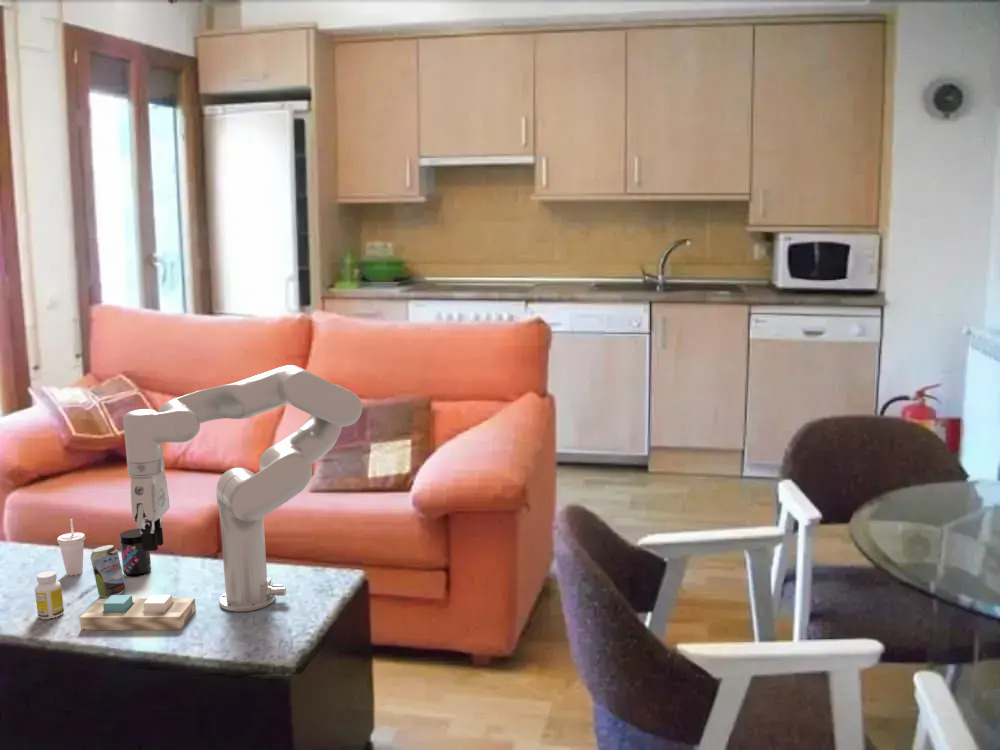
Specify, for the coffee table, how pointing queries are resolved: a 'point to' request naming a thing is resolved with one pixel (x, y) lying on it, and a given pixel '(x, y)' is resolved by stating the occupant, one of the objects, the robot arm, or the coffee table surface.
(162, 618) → the key block
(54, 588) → the supplement bottle
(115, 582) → the beverage can
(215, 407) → the robot arm
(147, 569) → the supplement container
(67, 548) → the smoothie
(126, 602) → the teal key
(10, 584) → the coffee table surface
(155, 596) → the white key
